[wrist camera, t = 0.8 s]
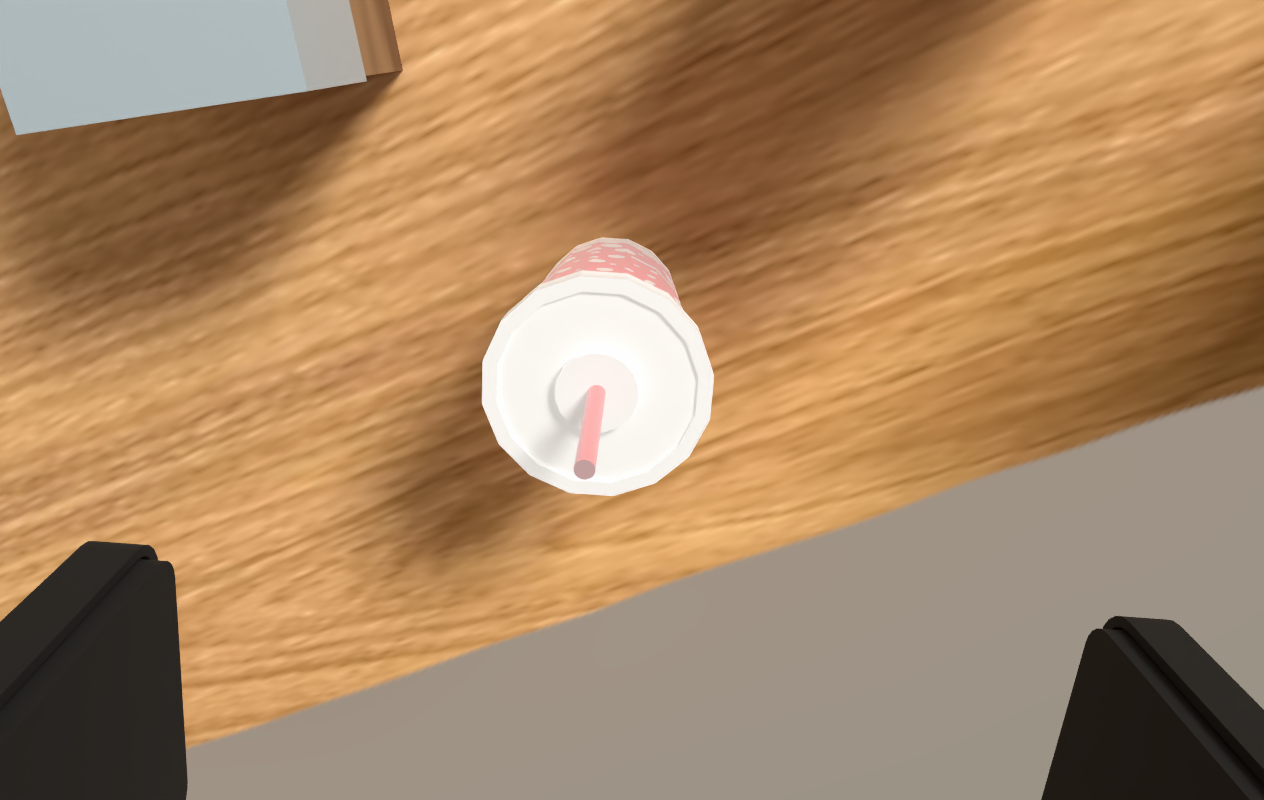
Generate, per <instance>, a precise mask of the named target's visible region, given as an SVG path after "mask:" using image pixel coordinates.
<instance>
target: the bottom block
mask: <svg viewBox="0 0 1264 800" xmlns="http://www.w3.org/2000/svg"><path fill="white" fill-rule="evenodd" d="M349 3H350V7H351V12H352V16H353V21H354V25H355V30H356V34H357V39H358V43H359V48H360V52H361V57H362V62H363V66H364V71H365V75H366V76H369V75H375V74H382V73H388V72H395V71H402V70H403V69H402V64H401V60H400V55H399V50H398V45H397V41H396V36H395V31H394V26H393V22H392V17H391V12H390V7H389V2H388V0H349Z"/></svg>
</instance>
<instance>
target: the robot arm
mask: <svg viewBox="0 0 1264 800" xmlns="http://www.w3.org/2000/svg"><path fill="white" fill-rule="evenodd" d="M186 795H187V765H186V748H185V732H184V716H183V699H182V683H181V667H180V650H179V634H178V618H177V601H176V585H175V574H174V569H173V566H172V564H171V563H170V562H168V561H158V558H157V555H156V553H155V550H154V549H153V548H152V547H151V546H150V545H139V544H125V543H111V542H98V541H88V542H86V543H85V544H83V545H82V546H80V547H79V548H78V549H77V550H76V551H75V552H74V553H73V554H72V555H71V556H70V557H69V558H68V559H67V560H66V561H65V562H63V563H62V564H61V565H60V566H59V567H58V568H57V569H56V570H55V571H54V572H53V573H52V574H51V575H50V576H49V577H48V578H46V579H45V580H44V581H43V582H42V583H41V584H40V585H39V586H38V587H37V588H36V589H35V590H34V591H33V592H32V593H30V594H29V595H28V596H27V597H26V598H25V599H24V600H23V601H22V602H21V603H20V604H19V605H18V606H17V607H16V608H15V609H13V610H12V611H11V612H10V613H9V614H8V615H7V616H6V617H5V618H4V619H3V620H2V621H1V622H0V800H186ZM1041 800H1264V710H1263V709H1262V708H1261V707H1260V706H1259V705H1258V704H1257V703H1256V702H1255V701H1254V700H1253V699H1252V698H1251V697H1250V696H1249V695H1248V694H1247V693H1246V692H1245V691H1244V690H1243V689H1242V688H1241V687H1240V686H1239V684H1238V683H1236V681H1234V680H1233V679H1232V677H1231V676H1230V675H1228V674H1227V672H1225V670H1224V669H1223V668H1222V667H1221V666H1220V665H1219V664H1218V663H1217V662H1215V660H1214V659H1213V658H1212V657H1211V656H1210V655H1209V654H1208V653H1207V652H1206V651H1205V650H1204V649H1203V648H1202V647H1200V645H1199V644H1198V643H1197V642H1196V641H1195V640H1194V639H1193V638H1192V637H1191V636H1189V634H1188V633H1187V632H1186V631H1185V630H1184V629H1183V628H1182V627H1181V626H1180V625H1178V624H1177V623H1175V622H1174V621H1171V620H1163V619H1149V618H1136V617H1122V616H1115V617H1113V618H1111V619H1109V620H1108V621H1107V623H1106V624H1105V625H1104V627H1103V629H1095V630H1093V631H1092V632H1091V634H1090V635H1089V636H1088V638H1087V641H1086V644H1085V647H1084V650H1083V654H1082V658H1081V661H1080V665H1079V668H1078V672H1077V675H1076V679H1075V682H1074V686H1073V690H1072V693H1071V697H1070V700H1069V704H1068V707H1067V711H1066V714H1065V718H1064V722H1063V725H1062V728H1061V732H1060V736H1059V739H1058V743H1057V746H1056V750H1055V753H1054V757H1053V760H1052V764H1051V767H1050V771H1049V775H1048V778H1047V782H1046V785H1045V789H1044V792H1043V796H1042V799H1041Z"/></svg>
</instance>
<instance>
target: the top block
mask: <svg viewBox="0 0 1264 800" xmlns="http://www.w3.org/2000/svg"><path fill="white" fill-rule="evenodd" d="M365 81H367V80H366V75H365V71H364V66H363V62H362V57H361V52H360V48H359V43H358V39H357V34H356V30H355V25H354V21H353V16H352V12H351V7H350V3H349V0H0V89H1V92H2V95H3V98H4V101H5V104H6V106H7V109H8V112H9V115H10V118H11V121H12V124H13V127H14V130H15V133H16V135H21V134H28V133H34V132H41V131H47V130H54V129H61V128H67V127H74V126H81V125H87V124H94V123H100V122H107V121H114V120H120V119H127V118H134V117H140V116H147V115H153V114H160V113H167V112H173V111H180V110H187V109H193V108H200V107H206V106H213V105H220V104H226V103H233V102H240V101H246V100H253V99H259V98H266V97H273V96H279V95H286V94H293V93H299V92H306V91H312V90H318V89H324V88H330V87H336V86H342V85H348V84H354V83H359V82H365Z"/></svg>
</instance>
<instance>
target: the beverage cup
mask: <svg viewBox="0 0 1264 800" xmlns="http://www.w3.org/2000/svg"><path fill="white" fill-rule="evenodd" d="M713 383H714V373H713V370H712V367H711V364H710V361H709V358H708V355H707V352H706V349H705V346H704V343H703V340H702V337H701V334H700V331H699V328H698V326H697V325H696V324H695V323H694V322H693V320H692V319H691V318H690V317H689V316H688V315H687V314H686V312H685V311H684V310H683V309H682V306H681V304H680V301H679V298H678V295H677V292H676V289H675V286H674V283H673V280H672V277H671V274H670V271H669V270H668V269H667V267H666V266H665V265H664V264H663V263H662V262H661V261H660V259H659V258H658V257H657V256H656V255H655V254H654V253H653V251H651V250H649V249H647V248H645V247H643V246H641V245H639V244H637V243H635V242H633V241H631V240H629V239H619V238H604V237H601V238H598V239H595V240H592V241H589V242H586V243H583V244H580V245H577V246H576V247H575V248H574V249H572V250H571V251H570V252H569V253H568V254H567V255H566V256H564V257H563V258H562V259H561V260H560V261H559V262H558V263H557V264H556V265H555V266H554V268H553V269H552V270H551V272H550V273H549V274H548V275H547V277H546V278H545V279H544V281H543V282H542V283H541V284H539V285H538V286H537V287H536V288H535V289H533V290H532V291H531V292H530V293H529V294H528V295H527V296H526V297H524V298H523V299H522V300H521V301H520V302H519V303H518V304H516V305H515V306H514V307H513V308H512V309H511V310H510V311H509V312H507V313H506V315H505V316H504V317H503V318H502V320H501V322H500V324H499V326H498V329H497V331H496V333H495V335H494V337H493V339H492V342H491V344H490V346H489V348H488V350H487V352H486V354H485V357H484V359H483V363H482V405H483V408H484V410H485V413H486V415H487V417H488V420H489V422H490V425H491V427H492V429H493V432H494V434H495V437H496V439H497V441H498V444H499V445H500V446H501V447H502V448H503V449H504V450H505V451H506V452H507V453H508V454H509V455H510V456H511V457H512V458H513V459H514V460H515V461H516V462H517V463H518V464H519V465H520V466H521V467H522V468H523V469H524V470H525V471H526V472H527V473H528V474H529V475H531V476H533V477H535V478H537V479H539V480H542V481H544V482H546V483H548V484H551V485H553V486H555V487H557V488H559V489H562V490H564V491H566V492H568V493H577V494H592V495H607V496H615V495H618V494H621V493H625V492H628V491H631V490H635V489H638V488H641V487H645V486H648V485H651V484H655V483H656V482H658V481H659V480H660V479H661V478H663V477H664V476H665V475H666V474H668V473H669V472H670V471H672V470H673V469H674V468H675V467H677V466H678V465H679V464H680V463H682V462H683V461H684V460H686V459H687V458H688V457H689V456H690V454H691V452H692V451H693V449H694V447H695V445H696V443H697V442H698V440H699V438H700V436H701V434H702V433H703V431H704V429H705V427H706V426H707V424H708V422H709V420H710V413H711V403H712V393H713Z"/></svg>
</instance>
